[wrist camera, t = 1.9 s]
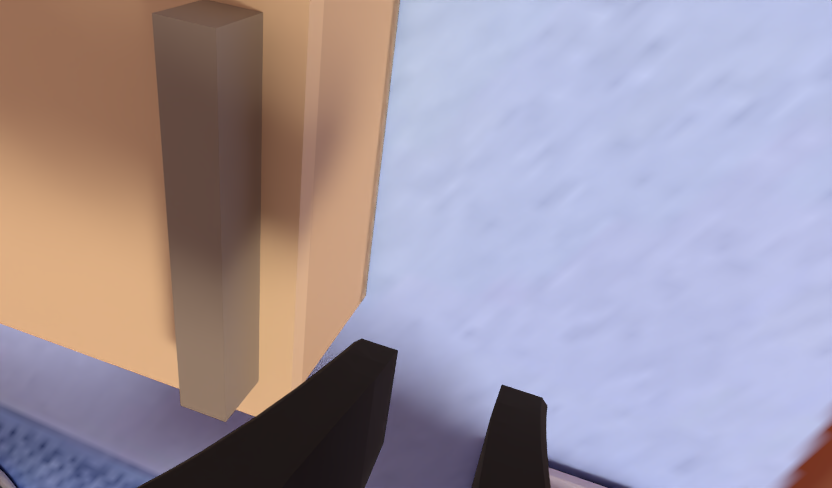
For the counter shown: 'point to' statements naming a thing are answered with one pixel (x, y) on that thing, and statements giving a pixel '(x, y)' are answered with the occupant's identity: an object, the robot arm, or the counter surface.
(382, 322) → the counter surface
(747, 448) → the counter surface
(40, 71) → the lid
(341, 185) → the mailer box
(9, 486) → the pill bottle
